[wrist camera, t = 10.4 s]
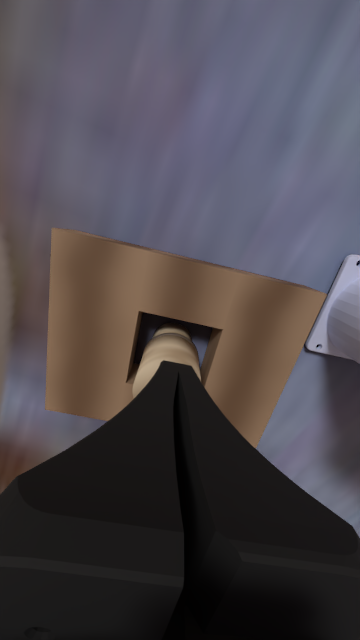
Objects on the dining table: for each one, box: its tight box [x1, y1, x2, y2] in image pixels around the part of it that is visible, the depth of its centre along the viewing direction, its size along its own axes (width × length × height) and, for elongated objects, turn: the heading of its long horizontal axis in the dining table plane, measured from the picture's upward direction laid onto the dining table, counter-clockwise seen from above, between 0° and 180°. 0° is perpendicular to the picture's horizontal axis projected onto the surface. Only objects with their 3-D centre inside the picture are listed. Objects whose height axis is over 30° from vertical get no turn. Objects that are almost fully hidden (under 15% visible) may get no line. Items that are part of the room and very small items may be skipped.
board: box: [45, 228, 327, 448], centre depth 18 cm, size 18×14×3 cm
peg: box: [132, 323, 201, 398], centre depth 16 cm, size 4×4×7 cm
